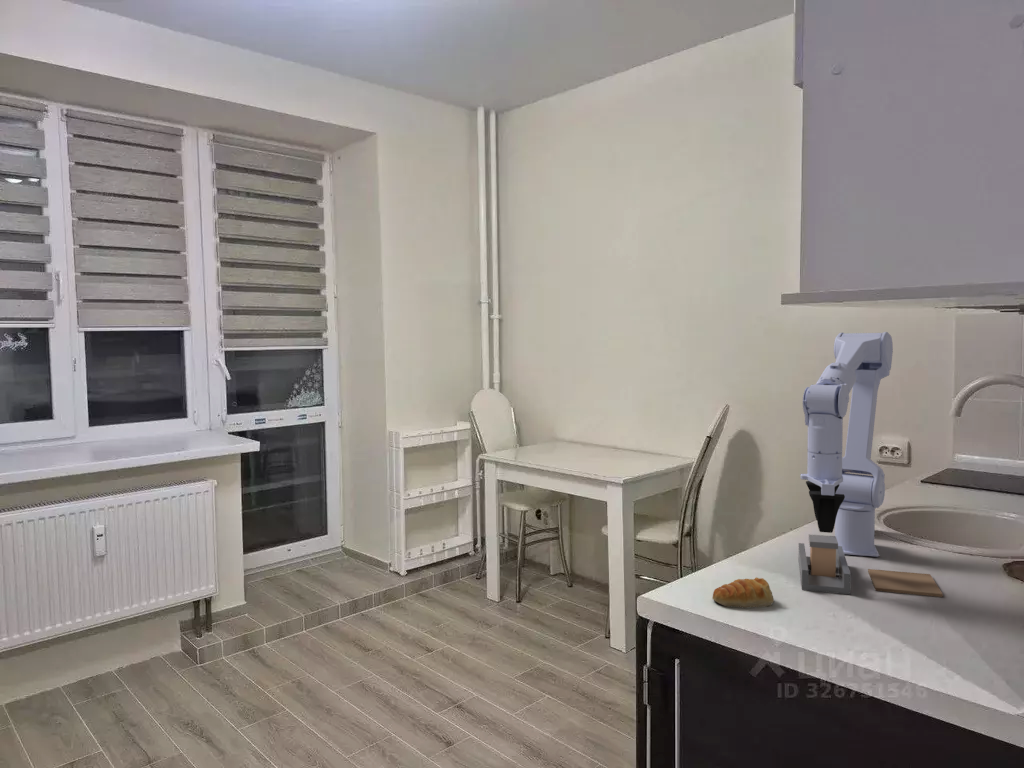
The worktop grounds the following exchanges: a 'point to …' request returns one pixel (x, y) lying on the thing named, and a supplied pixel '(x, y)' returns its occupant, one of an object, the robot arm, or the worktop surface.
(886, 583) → the walnut pad
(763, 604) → the pastry
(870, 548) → the robot arm
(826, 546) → the plug
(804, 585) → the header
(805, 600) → the worktop surface
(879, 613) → the worktop surface
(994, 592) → the worktop surface
